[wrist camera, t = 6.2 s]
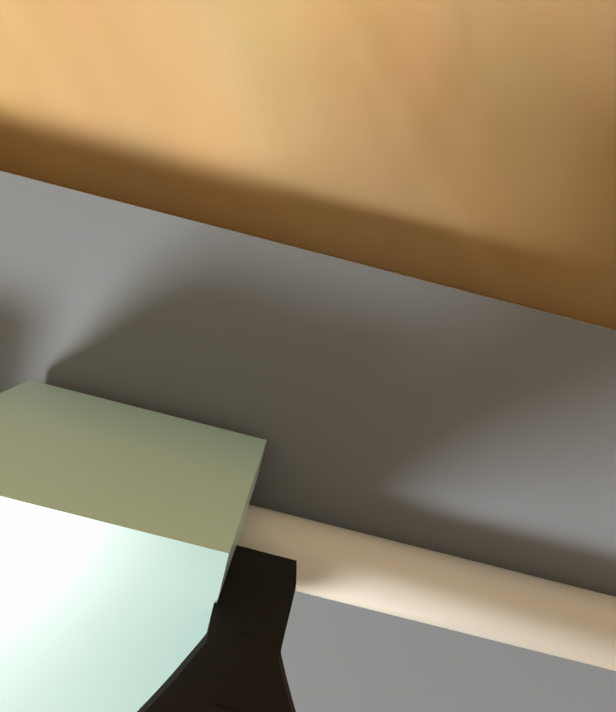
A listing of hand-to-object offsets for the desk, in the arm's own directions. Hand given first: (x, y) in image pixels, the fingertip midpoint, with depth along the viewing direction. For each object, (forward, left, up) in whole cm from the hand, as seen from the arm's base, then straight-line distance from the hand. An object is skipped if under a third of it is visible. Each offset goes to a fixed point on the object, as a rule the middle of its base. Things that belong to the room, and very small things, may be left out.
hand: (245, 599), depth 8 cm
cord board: (+1, 0, -4) cm, 4 cm away
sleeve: (+3, 0, -2) cm, 4 cm away
